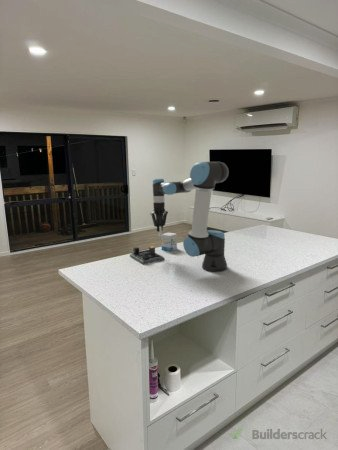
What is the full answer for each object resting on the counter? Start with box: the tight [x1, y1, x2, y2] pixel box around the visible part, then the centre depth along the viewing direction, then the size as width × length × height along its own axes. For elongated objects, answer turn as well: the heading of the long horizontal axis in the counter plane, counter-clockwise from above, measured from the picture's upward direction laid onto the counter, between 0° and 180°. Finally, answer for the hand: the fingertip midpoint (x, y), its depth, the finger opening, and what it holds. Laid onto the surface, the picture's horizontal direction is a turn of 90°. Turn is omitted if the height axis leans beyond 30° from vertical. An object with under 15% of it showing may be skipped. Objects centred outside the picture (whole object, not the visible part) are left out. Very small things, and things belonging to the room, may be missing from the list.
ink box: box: [160, 232, 178, 252], centre depth 234 cm, size 8×8×12 cm
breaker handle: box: [148, 245, 156, 255], centre depth 216 cm, size 3×3×5 cm
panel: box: [129, 246, 166, 265], centre depth 214 cm, size 20×16×6 cm
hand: (159, 235), depth 217 cm, fingers closed
